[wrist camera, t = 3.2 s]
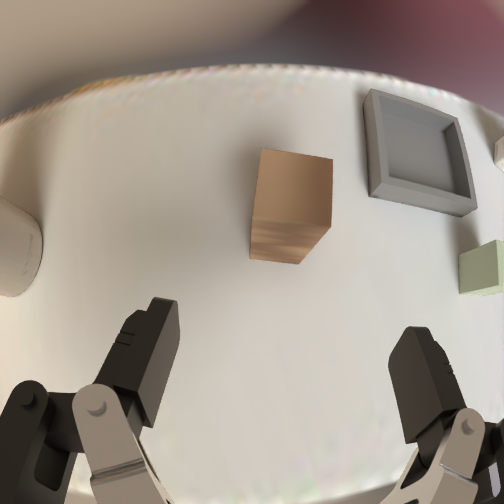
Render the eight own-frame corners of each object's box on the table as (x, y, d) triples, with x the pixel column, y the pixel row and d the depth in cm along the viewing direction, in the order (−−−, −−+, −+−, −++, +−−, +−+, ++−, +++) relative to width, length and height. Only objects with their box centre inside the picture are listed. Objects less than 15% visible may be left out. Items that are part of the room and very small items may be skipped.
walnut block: (249, 258, 24) (252, 215, 15) (256, 212, 25) (261, 148, 16) (298, 264, 24) (331, 226, 15) (302, 218, 25) (332, 159, 16)
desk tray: (368, 196, 26) (381, 182, 23) (362, 105, 29) (370, 88, 26) (461, 217, 26) (477, 208, 23) (445, 131, 29) (457, 118, 26)
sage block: (459, 293, 24) (498, 285, 18) (458, 254, 25) (496, 239, 19) (483, 296, 24) (522, 288, 18) (482, 259, 25) (519, 245, 19)
